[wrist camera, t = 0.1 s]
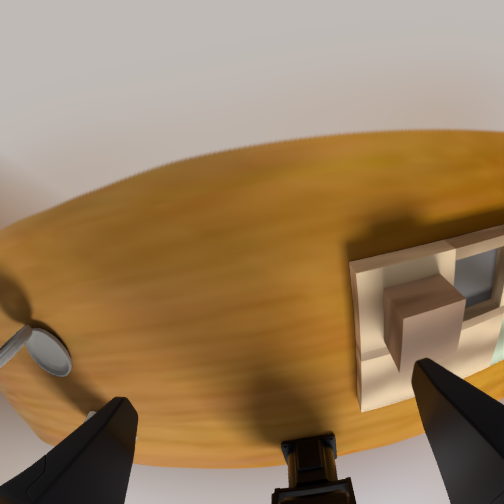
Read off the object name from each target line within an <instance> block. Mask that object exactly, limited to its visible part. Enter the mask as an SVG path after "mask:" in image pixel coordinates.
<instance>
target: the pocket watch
mask: <svg viewBox="0 0 504 504" xmlns="http://www.w3.org/2000/svg"><path fill="white" fill-rule="evenodd" d="M25 343H26V347H27V349H28V351H29V353H30V355H31V356H32V358H33V359H34V360H35V361H36V363H37V364H38V365H39V366H40V367H41V368H43V369H44V370H45V371H47V372H48V373H50V374H53V375H55V376H60V377H64V376H67V375H68V374H69V373H70V372H71V369H72V362H71V358H70V356H69V353H68V351H67V350H66V348H65V347H64V346H63V344H62V343H61V342H60V341H59V340H58V339H57V338H56V337H55V336H54V335H52V334H51V333H49V332H48V331H46V330H44V329H41V328H31V327H30V326H29V325H26V326H24V327H23V328H22V329H20V330H19V331H18V332H17V333H15V334H14V335H13V336H12V337H11V338H10V339H9V340H8V341H7V342H6V343H5V344H4V345H3V346H2V347H1V348H0V367H2V366H3V365H4V364H6V363H7V362H8V361H9V360H10V359H11V358H12V357H13V356H14V355H15V354H16V353H17V352H18V351H19V350H20V349H21V348H22V347H23V346H24V345H25Z"/></svg>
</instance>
